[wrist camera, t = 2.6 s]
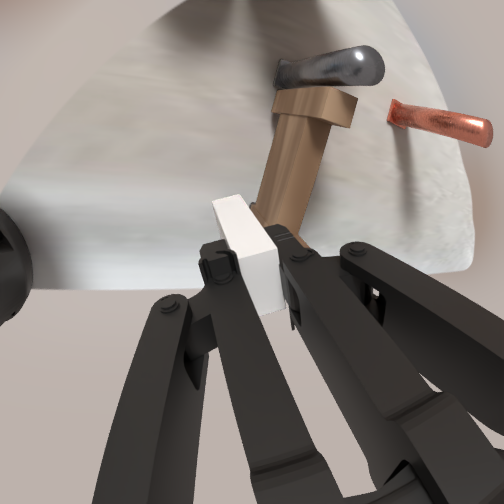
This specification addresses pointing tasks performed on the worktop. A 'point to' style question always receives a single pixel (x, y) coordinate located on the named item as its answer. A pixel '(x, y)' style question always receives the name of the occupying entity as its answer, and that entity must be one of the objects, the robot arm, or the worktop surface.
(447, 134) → the gate posts
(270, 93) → the worktop surface
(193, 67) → the worktop surface
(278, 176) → the gate
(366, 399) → the robot arm
